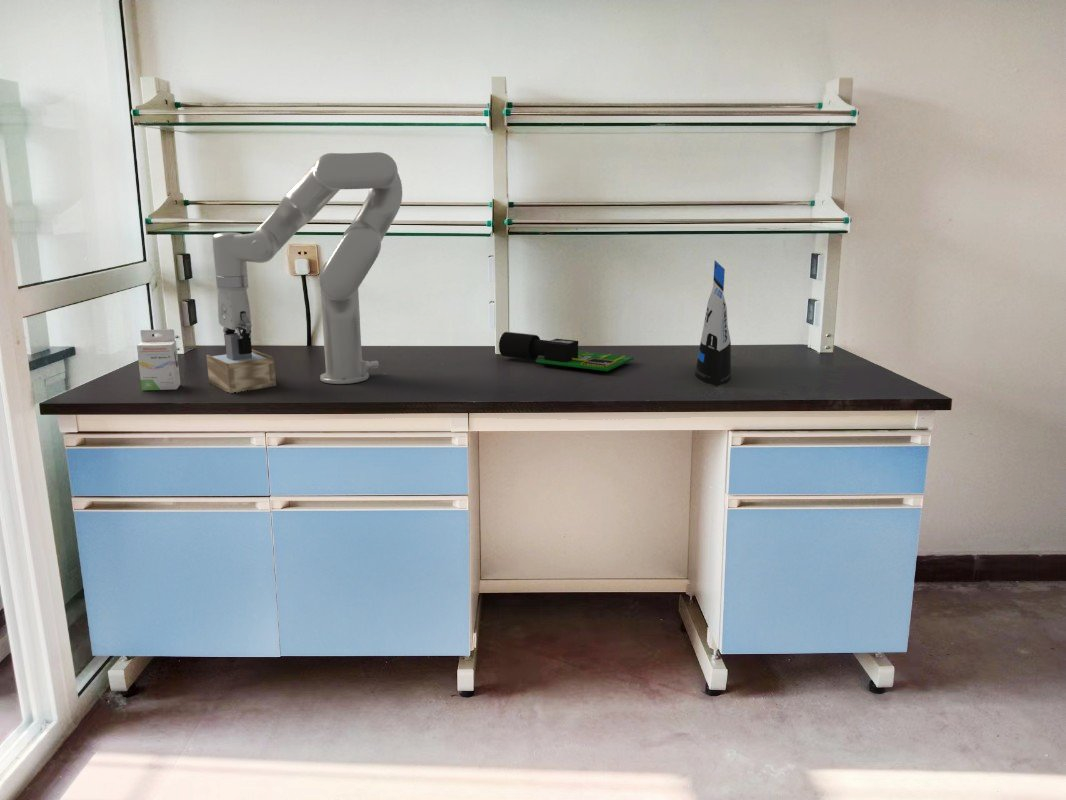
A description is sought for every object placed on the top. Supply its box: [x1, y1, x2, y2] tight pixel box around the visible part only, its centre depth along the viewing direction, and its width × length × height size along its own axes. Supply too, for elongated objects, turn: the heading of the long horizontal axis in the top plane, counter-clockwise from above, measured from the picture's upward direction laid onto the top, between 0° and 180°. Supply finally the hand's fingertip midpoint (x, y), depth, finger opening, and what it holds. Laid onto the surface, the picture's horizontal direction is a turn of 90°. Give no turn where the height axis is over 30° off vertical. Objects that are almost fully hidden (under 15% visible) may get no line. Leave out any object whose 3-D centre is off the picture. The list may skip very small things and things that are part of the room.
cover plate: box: [212, 332, 265, 363], centre depth 212 cm, size 10×13×7 cm
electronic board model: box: [498, 331, 635, 372], centre depth 238 cm, size 36×8×18 cm
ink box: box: [136, 328, 181, 391], centre depth 209 cm, size 9×5×15 cm, turn 101°
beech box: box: [206, 348, 277, 394], centre depth 213 cm, size 12×14×8 cm
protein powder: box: [694, 260, 732, 388], centre depth 220 cm, size 10×24×30 cm, turn 174°
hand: (238, 350), depth 212 cm, fingers open, 8 cm apart
